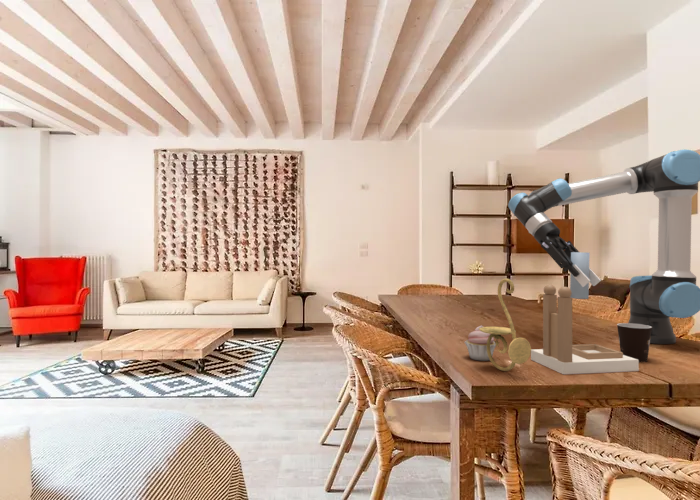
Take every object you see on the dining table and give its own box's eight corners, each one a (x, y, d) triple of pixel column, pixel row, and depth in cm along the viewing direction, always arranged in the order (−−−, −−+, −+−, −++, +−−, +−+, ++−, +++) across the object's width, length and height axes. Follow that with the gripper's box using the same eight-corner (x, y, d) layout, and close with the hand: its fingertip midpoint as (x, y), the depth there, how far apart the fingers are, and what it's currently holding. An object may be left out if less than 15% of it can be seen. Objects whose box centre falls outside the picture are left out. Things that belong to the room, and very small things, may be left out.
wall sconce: (535, 376, 108) (535, 279, 108) (504, 379, 105) (504, 280, 105) (500, 362, 122) (500, 276, 122) (472, 365, 119) (472, 276, 119)
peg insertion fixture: (598, 356, 128) (598, 281, 128) (638, 371, 113) (638, 286, 113) (530, 359, 125) (530, 282, 125) (563, 374, 110) (563, 287, 110)
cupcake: (475, 363, 121) (475, 328, 121) (458, 355, 130) (458, 323, 130) (504, 361, 123) (503, 327, 123) (485, 353, 132) (485, 321, 132)
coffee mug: (641, 364, 119) (641, 329, 119) (610, 357, 127) (610, 324, 127) (663, 359, 125) (663, 325, 125) (632, 353, 132) (632, 321, 132)
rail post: (581, 296, 132) (582, 252, 132) (592, 299, 127) (593, 252, 127) (566, 296, 131) (567, 252, 131) (576, 299, 126) (577, 252, 126)
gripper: (552, 238, 147) (599, 290, 133) (518, 237, 137) (565, 292, 124) (566, 222, 142) (617, 274, 128) (533, 220, 133) (583, 276, 119)
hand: (591, 283), depth 126 cm, fingers closed on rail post, 5 cm apart
